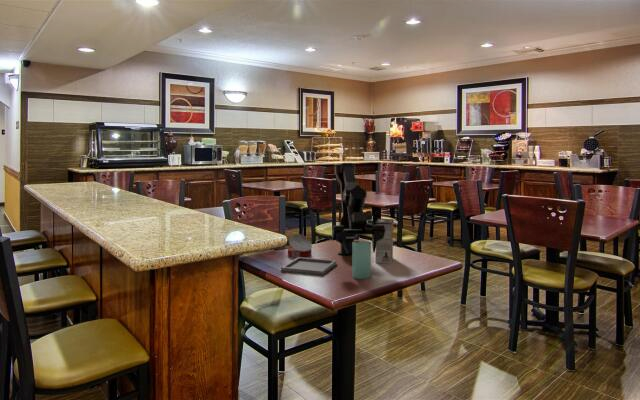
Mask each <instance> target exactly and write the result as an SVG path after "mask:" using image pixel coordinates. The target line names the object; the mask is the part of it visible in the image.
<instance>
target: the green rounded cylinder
mask: <svg viewBox="0 0 640 400" xmlns="http://www.w3.org/2000/svg"><path fill="white" fill-rule="evenodd" d="M351 257H352V258H351V259H352V260H351V261H352V262H351V270H352V271H351V273H352V274H351V277H352V278H353V279H358V280H365V279H370V278H371V274H372V273H371V272H372V271H371V270H372V269H371V268H372V267H371V265H372V264H371V263H372V261H371V260H372V241H368V240H354V242H352V255H351Z"/></svg>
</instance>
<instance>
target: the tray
mask: <svg viewBox="0 0 640 400" xmlns="http://www.w3.org/2000/svg"><path fill="white" fill-rule="evenodd" d="M337 262H338V261H337V260H336V259H335V260H334V259H325V258H314V257H313V258H312V257H307V258H303V257H297V258H293V259H292V260H291V261H289V262H288V263H286V264H284V265H282V266H281V267H280V272H282V273H291V274H300V275H310V276H321V277H323V276H325V274H327V273H328V272H329V271H331V269H333V268H334V267H335V266H337Z"/></svg>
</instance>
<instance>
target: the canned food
mask: <svg viewBox="0 0 640 400" xmlns="http://www.w3.org/2000/svg"><path fill="white" fill-rule="evenodd" d="M288 243H289V245H290V247H288V248H287V257H288V258H290V259H292V258H293V259H296V258H297V257H303V258H311V256H312V248H313V245H312V243H311V242H310V241H309V239H308V238H307V237H306V236H305V235H303V234H300V233H296V234H293V235H291V236H290V237H289V239H288Z"/></svg>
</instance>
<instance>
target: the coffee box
mask: <svg viewBox="0 0 640 400" xmlns="http://www.w3.org/2000/svg"><path fill="white" fill-rule="evenodd" d="M375 225H384V226H385V234H384V237H383V239H380V241H377V243H376V248H375V263H376V264H392V263H393V259H394V256H393V255H394V254H393V253H394V218H377V220H376V221H375Z"/></svg>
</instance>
